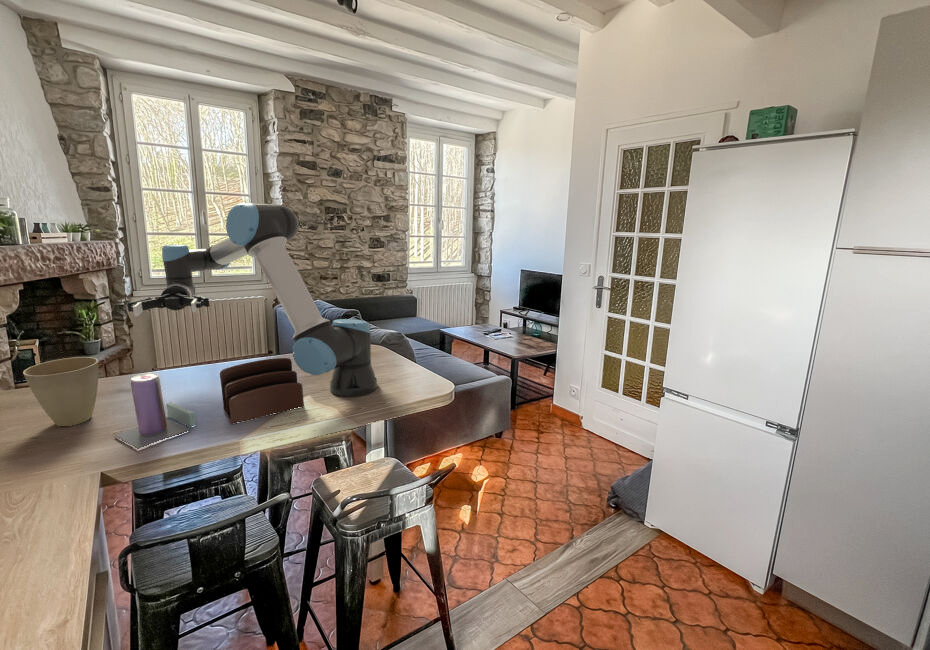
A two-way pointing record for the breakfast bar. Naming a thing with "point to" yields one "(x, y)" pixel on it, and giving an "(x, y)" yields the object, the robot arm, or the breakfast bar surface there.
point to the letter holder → (260, 389)
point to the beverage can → (148, 404)
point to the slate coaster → (140, 441)
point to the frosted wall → (180, 414)
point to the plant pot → (65, 388)
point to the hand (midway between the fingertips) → (164, 309)
